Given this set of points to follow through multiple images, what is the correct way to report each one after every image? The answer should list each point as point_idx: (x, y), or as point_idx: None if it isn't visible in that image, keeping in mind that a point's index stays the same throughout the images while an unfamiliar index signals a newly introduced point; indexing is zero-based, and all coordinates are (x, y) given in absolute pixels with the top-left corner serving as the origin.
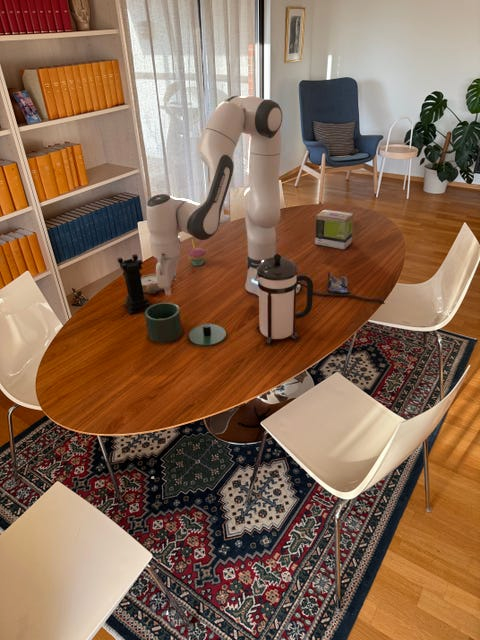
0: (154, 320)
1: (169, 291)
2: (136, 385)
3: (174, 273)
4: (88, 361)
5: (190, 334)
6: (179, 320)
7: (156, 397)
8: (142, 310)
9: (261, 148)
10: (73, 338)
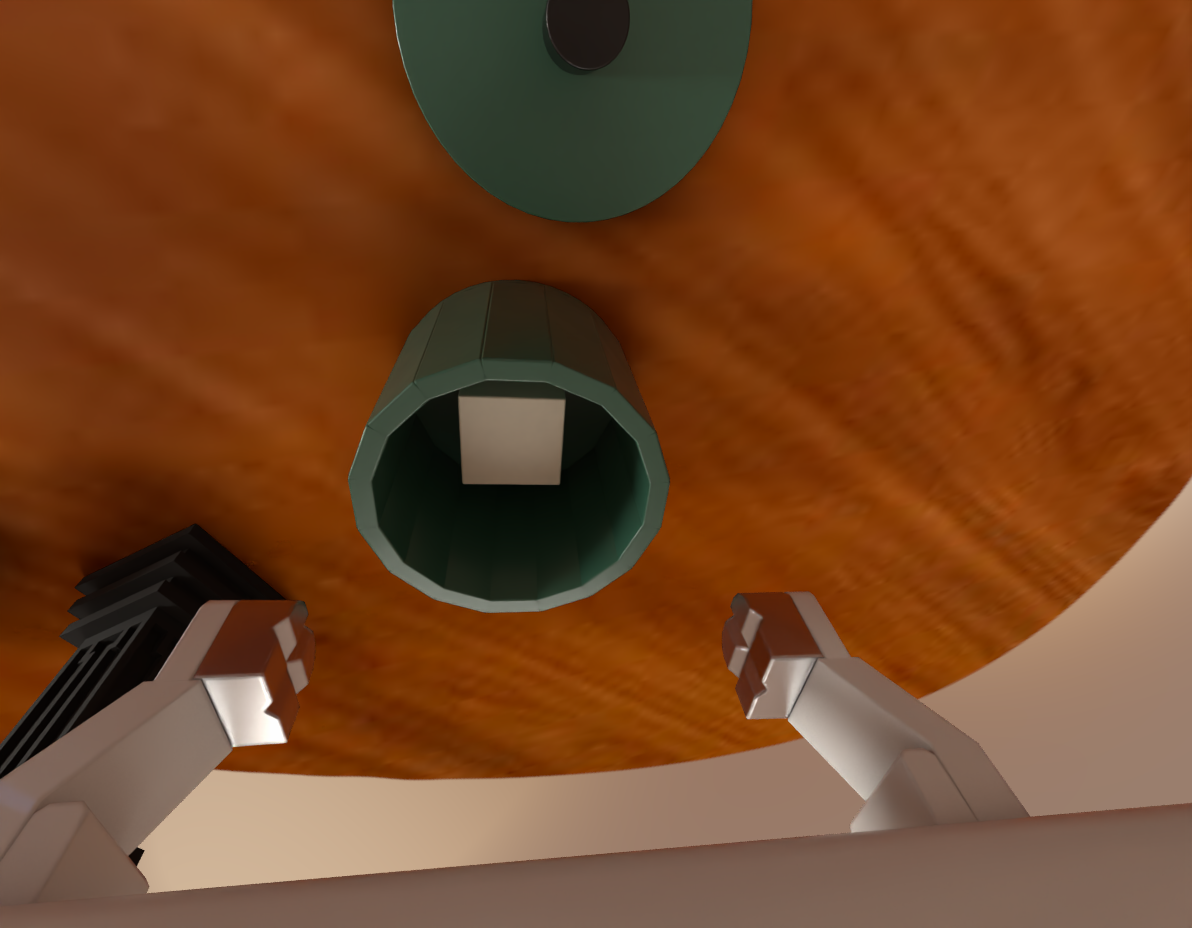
0: (656, 533)
1: (835, 651)
2: (954, 466)
3: (602, 907)
4: (710, 664)
5: (570, 208)
6: (547, 328)
7: (1093, 364)
8: (240, 568)
9: None
10: (534, 744)
